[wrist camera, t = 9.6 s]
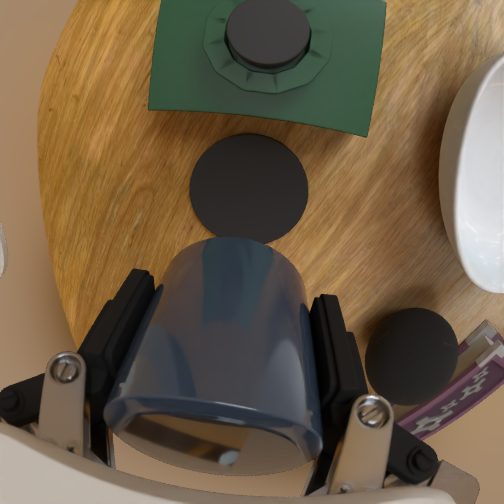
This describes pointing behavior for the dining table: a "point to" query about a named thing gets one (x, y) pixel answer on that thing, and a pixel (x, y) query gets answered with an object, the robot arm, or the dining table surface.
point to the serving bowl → (476, 175)
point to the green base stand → (271, 79)
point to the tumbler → (222, 365)
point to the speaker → (411, 357)
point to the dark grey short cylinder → (268, 32)
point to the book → (459, 385)
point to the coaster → (249, 188)
